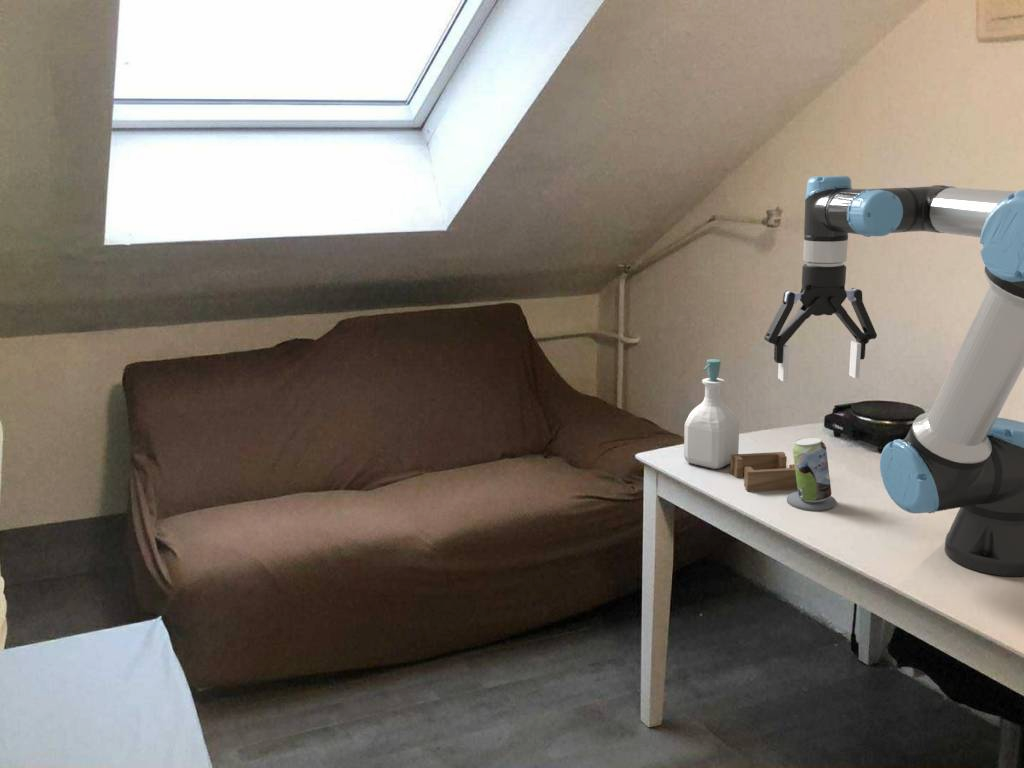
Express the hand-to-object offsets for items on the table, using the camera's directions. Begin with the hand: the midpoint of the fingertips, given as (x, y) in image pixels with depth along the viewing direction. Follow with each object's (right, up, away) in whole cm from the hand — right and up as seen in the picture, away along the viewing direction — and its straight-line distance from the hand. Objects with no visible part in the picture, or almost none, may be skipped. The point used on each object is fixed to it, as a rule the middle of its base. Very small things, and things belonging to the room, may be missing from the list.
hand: (818, 378), depth 178 cm
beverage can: (0, -23, +6) cm, 24 cm away
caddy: (-5, -21, +18) cm, 28 cm away
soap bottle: (-14, -18, +30) cm, 38 cm away
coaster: (+1, -24, +6) cm, 24 cm away
